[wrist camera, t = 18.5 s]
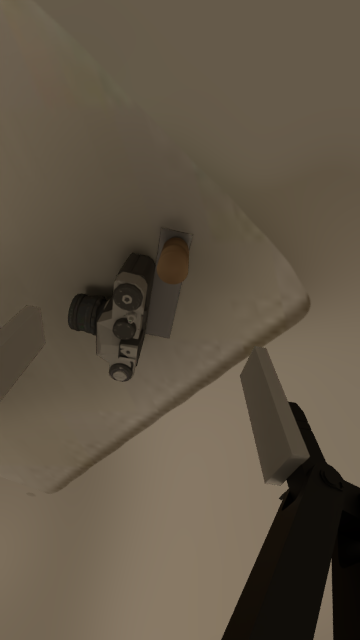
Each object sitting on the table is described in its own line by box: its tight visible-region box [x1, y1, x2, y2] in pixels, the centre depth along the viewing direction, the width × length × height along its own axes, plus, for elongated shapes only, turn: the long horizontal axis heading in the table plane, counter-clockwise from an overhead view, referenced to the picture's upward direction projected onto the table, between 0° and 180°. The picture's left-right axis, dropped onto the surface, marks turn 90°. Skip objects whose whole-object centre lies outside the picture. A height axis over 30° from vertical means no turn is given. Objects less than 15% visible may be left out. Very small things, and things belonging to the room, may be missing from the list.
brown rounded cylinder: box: [157, 237, 189, 284], centre depth 28 cm, size 3×3×8 cm
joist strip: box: [145, 228, 193, 338], centre depth 35 cm, size 4×17×1 cm, turn 169°
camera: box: [68, 253, 155, 382], centre depth 32 cm, size 16×10×10 cm, turn 168°
